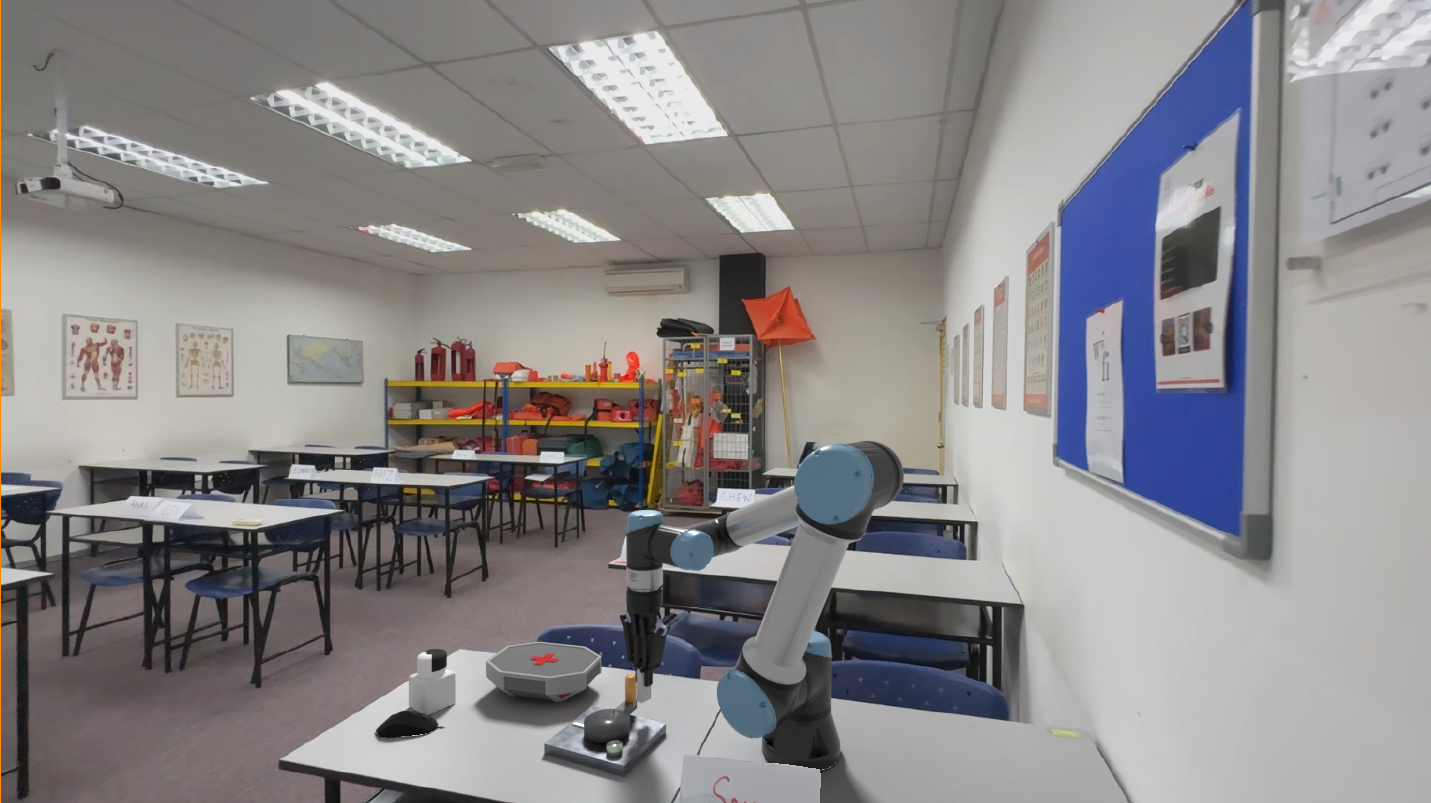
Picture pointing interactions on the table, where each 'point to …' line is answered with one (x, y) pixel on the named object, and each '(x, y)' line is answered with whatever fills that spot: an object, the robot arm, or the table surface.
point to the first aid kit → (543, 670)
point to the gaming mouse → (407, 725)
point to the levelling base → (606, 744)
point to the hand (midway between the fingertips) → (644, 699)
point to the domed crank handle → (613, 717)
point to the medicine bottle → (432, 683)
